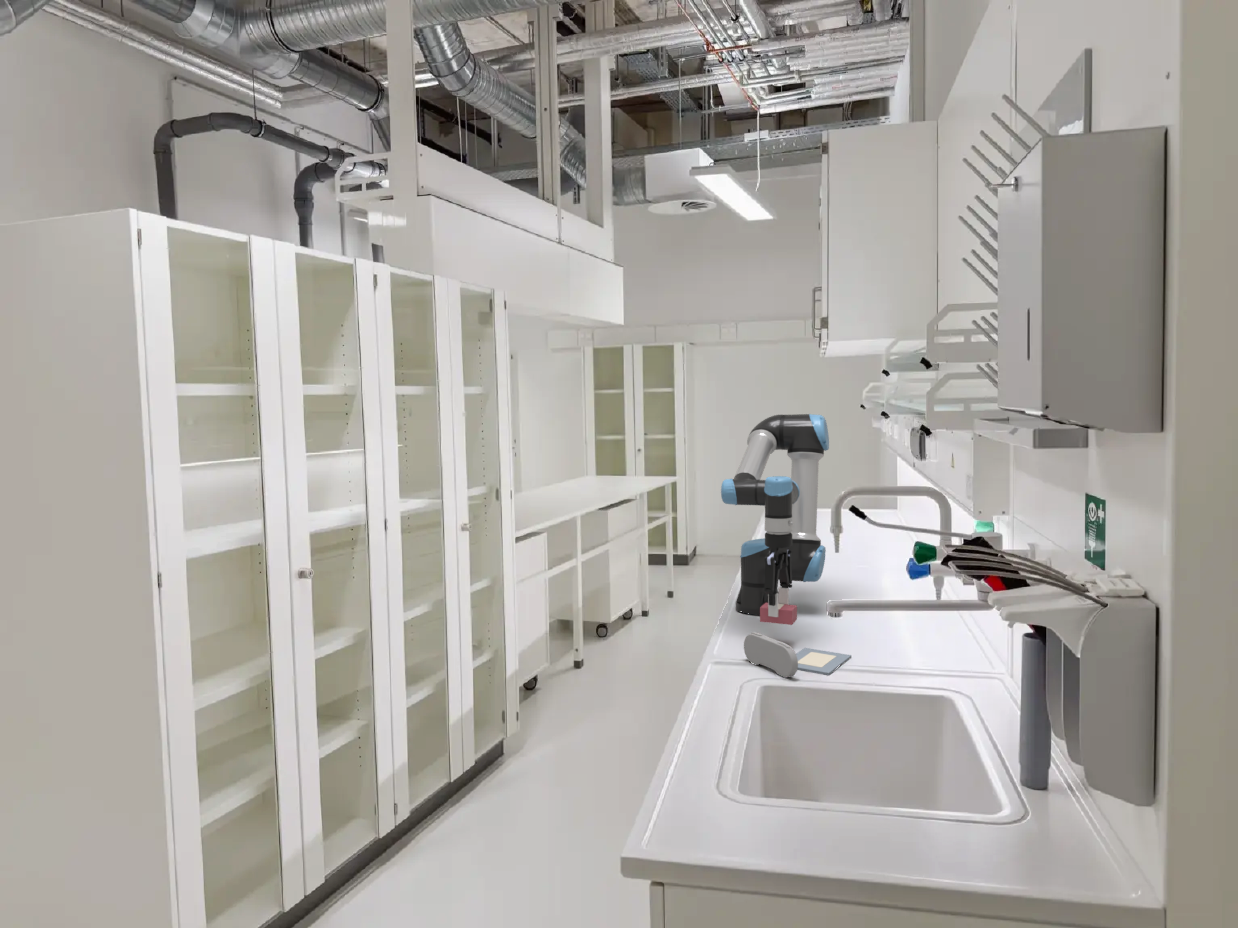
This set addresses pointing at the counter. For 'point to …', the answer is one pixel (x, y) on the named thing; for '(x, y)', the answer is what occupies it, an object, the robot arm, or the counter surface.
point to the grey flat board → (820, 660)
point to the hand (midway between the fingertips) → (778, 613)
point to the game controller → (771, 654)
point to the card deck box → (779, 614)
